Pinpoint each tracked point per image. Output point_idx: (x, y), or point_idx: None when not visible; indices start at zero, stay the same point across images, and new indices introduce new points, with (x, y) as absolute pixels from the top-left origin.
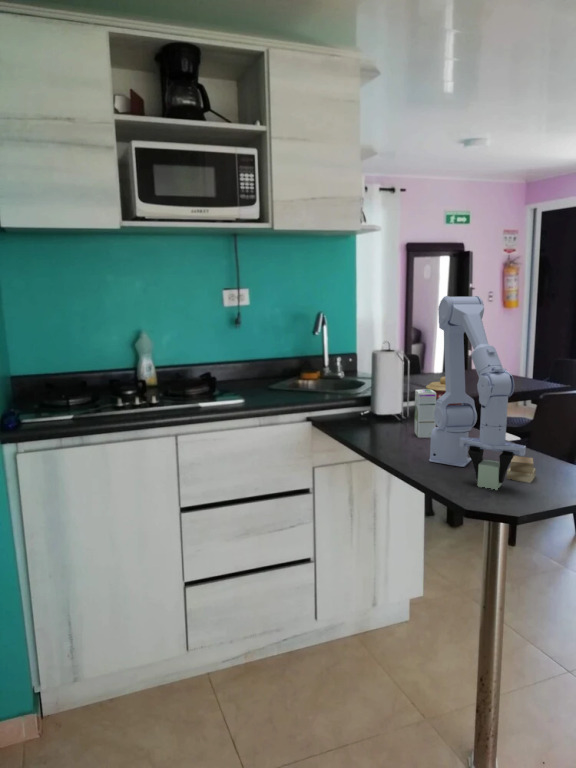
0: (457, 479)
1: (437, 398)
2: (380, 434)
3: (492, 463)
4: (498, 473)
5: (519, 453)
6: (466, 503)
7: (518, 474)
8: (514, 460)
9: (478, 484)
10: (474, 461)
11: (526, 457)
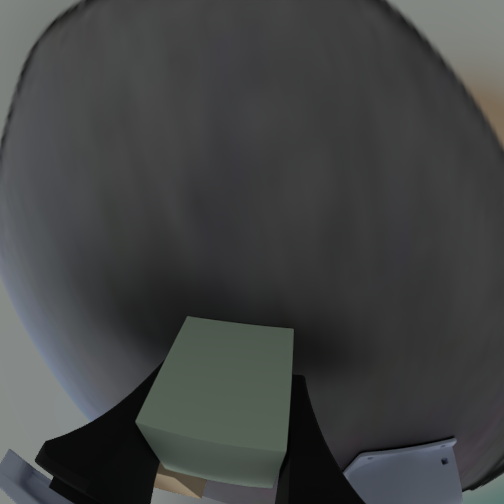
0: (394, 371)
1: None
2: (490, 465)
3: (203, 463)
4: (154, 392)
5: (19, 467)
6: (291, 7)
7: None
8: (170, 480)
9: (287, 337)
10: (320, 467)
11: (157, 487)
